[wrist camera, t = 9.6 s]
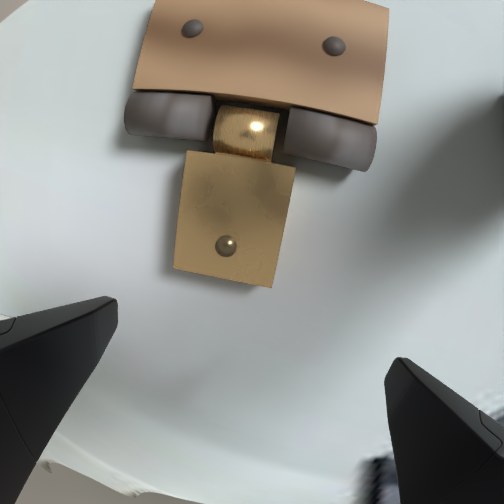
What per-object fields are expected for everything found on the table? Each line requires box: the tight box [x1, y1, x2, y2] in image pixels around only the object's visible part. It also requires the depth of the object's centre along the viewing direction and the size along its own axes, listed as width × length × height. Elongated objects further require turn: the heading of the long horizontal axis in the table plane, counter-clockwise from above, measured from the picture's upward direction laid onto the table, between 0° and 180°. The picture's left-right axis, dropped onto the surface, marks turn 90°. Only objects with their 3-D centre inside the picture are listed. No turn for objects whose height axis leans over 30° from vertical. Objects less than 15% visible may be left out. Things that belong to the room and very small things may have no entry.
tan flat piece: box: [124, 0, 389, 172], centre depth 15 cm, size 11×14×3 cm
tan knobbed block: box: [173, 105, 296, 288], centre depth 17 cm, size 10×6×3 cm, turn 170°
